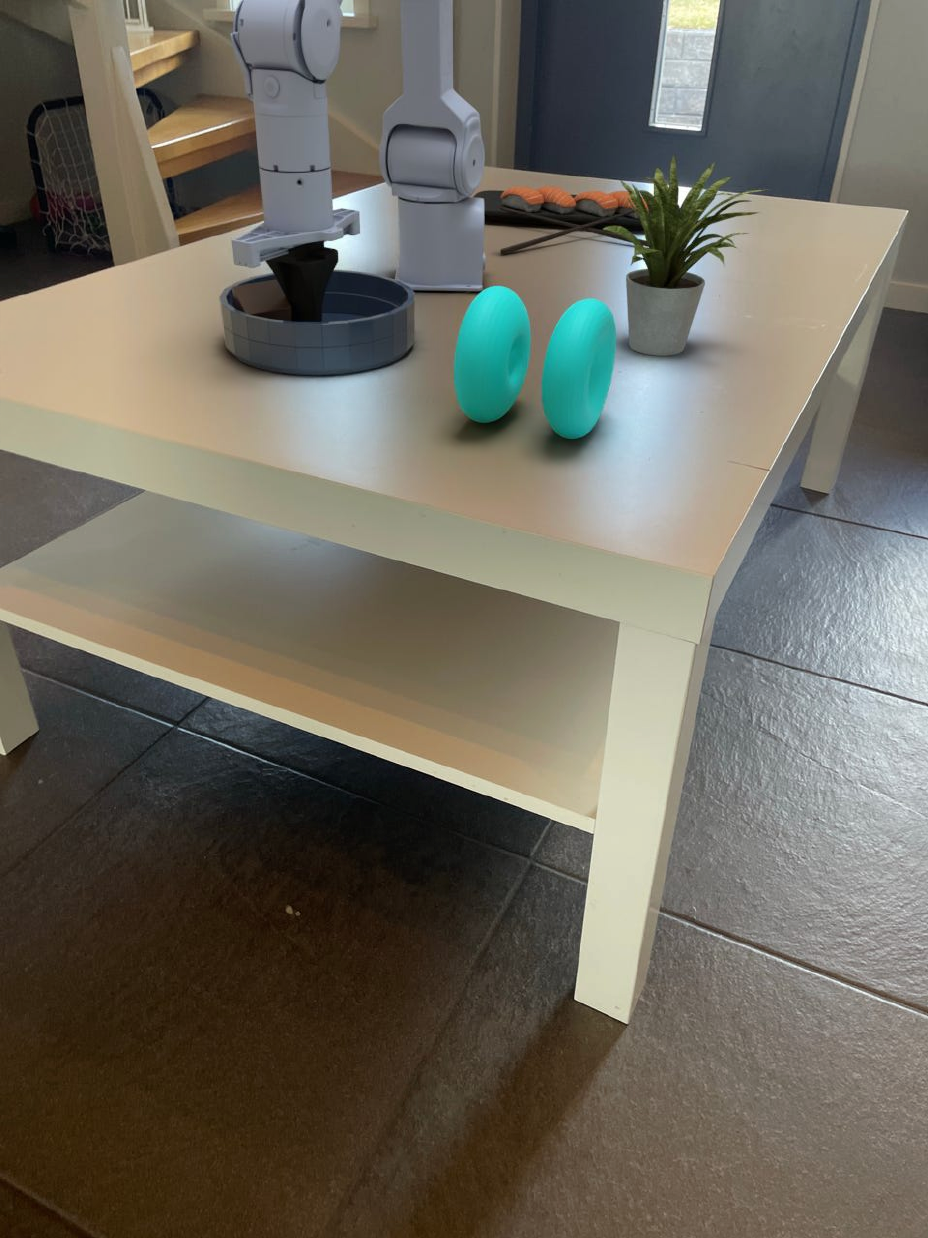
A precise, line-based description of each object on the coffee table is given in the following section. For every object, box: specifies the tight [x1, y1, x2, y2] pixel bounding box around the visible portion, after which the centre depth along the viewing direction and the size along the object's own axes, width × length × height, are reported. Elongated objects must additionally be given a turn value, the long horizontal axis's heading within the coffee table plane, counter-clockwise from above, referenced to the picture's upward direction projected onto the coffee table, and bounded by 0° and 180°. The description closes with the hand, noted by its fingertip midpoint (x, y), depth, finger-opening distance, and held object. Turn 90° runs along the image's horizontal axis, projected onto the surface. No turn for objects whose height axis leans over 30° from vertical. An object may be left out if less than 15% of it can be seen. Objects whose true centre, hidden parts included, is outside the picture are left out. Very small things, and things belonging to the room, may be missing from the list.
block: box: [232, 280, 292, 321], centre depth 86 cm, size 4×4×4 cm
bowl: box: [218, 269, 416, 376], centre depth 89 cm, size 17×17×4 cm
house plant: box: [602, 154, 771, 357], centre depth 86 cm, size 14×14×16 cm
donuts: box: [453, 285, 617, 440], centre depth 72 cm, size 10×10×10 cm
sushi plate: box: [472, 186, 681, 255], centre depth 129 cm, size 29×30×4 cm
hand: (306, 333), depth 86 cm, fingers closed, pressing on block
